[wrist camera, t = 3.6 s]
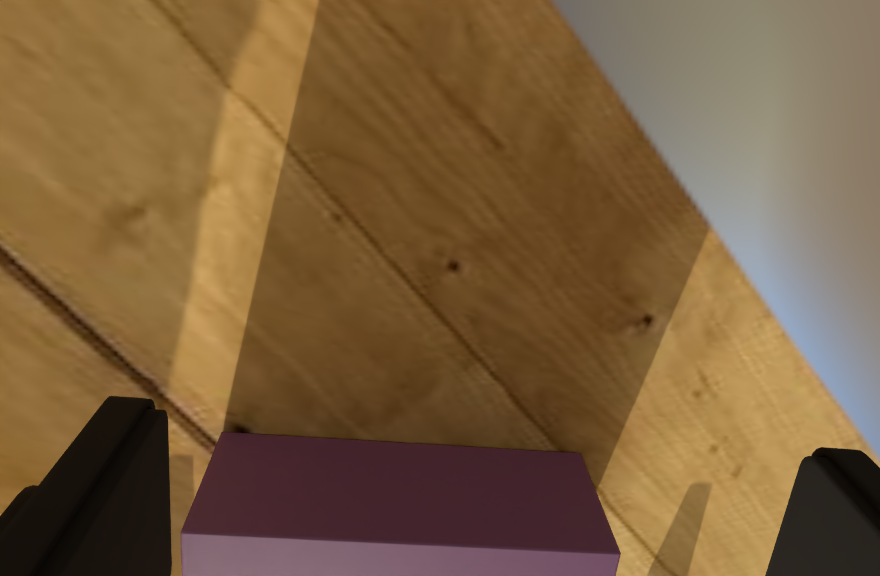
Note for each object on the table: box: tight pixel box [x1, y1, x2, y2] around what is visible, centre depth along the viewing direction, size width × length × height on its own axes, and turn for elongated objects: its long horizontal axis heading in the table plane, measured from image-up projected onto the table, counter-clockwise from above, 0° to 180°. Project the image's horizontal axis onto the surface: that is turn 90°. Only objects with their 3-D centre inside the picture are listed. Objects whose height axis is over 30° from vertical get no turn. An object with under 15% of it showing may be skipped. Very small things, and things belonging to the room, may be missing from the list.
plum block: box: [181, 432, 621, 576], centre depth 24 cm, size 6×12×5 cm, turn 84°
